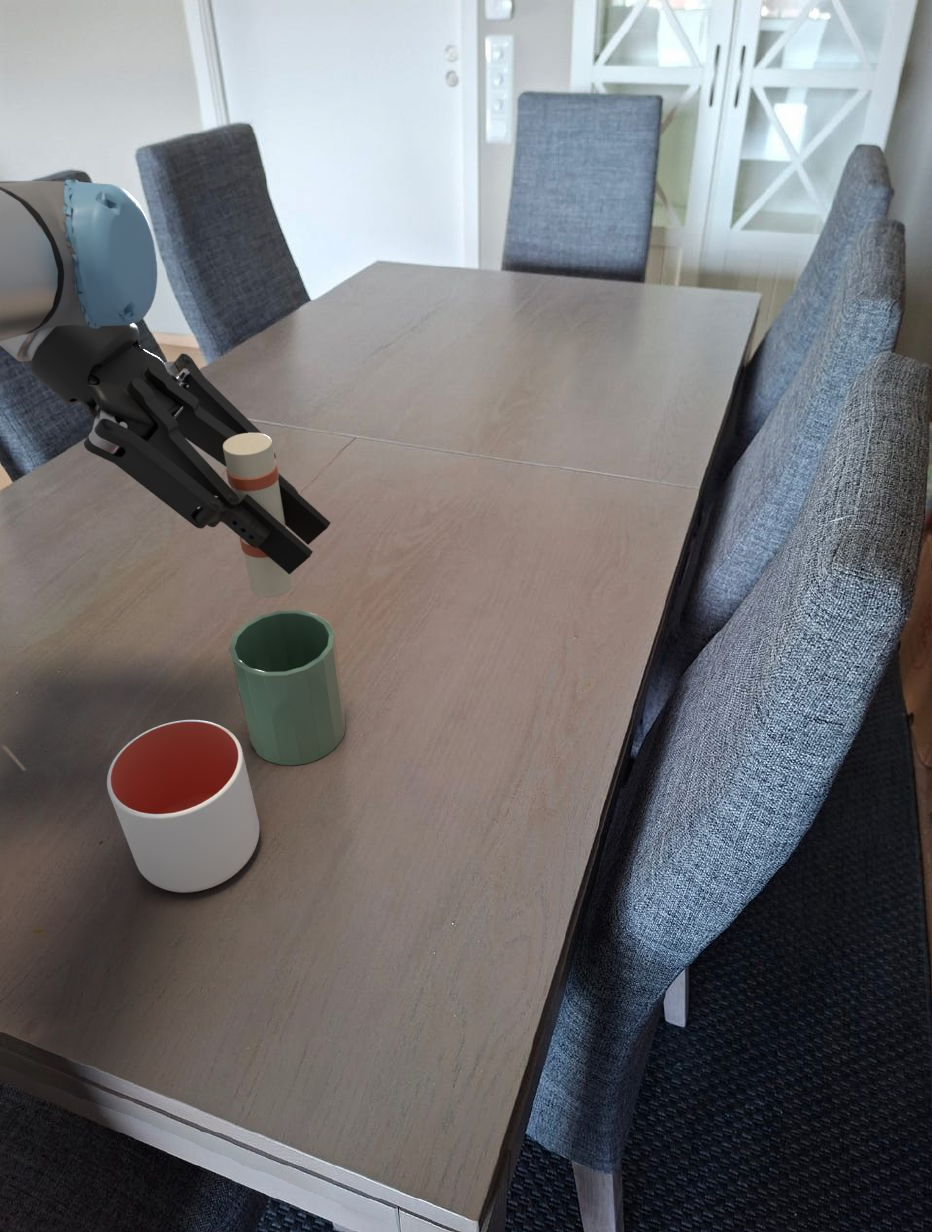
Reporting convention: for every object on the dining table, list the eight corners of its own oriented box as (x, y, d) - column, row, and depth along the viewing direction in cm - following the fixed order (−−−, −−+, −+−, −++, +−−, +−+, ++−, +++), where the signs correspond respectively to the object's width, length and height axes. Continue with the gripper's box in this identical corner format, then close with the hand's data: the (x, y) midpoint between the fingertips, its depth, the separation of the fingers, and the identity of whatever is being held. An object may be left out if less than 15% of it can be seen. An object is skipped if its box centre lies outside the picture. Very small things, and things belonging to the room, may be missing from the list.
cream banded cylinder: (280, 602, 71) (255, 458, 63) (240, 592, 72) (210, 450, 64) (304, 577, 74) (282, 436, 66) (265, 568, 75) (239, 428, 67)
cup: (112, 880, 70) (77, 797, 64) (182, 789, 77) (157, 707, 71) (221, 915, 67) (196, 832, 61) (283, 817, 75) (266, 735, 69)
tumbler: (289, 781, 78) (271, 690, 71) (231, 732, 83) (209, 642, 76) (364, 728, 83) (354, 639, 77) (306, 685, 88) (291, 598, 81)
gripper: (99, 323, 71) (317, 519, 78) (-33, 410, 58) (243, 634, 65) (144, 259, 67) (369, 471, 74) (12, 336, 54) (301, 585, 61)
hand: (310, 547), depth 70 cm, fingers closed on cream banded cylinder, 4 cm apart
